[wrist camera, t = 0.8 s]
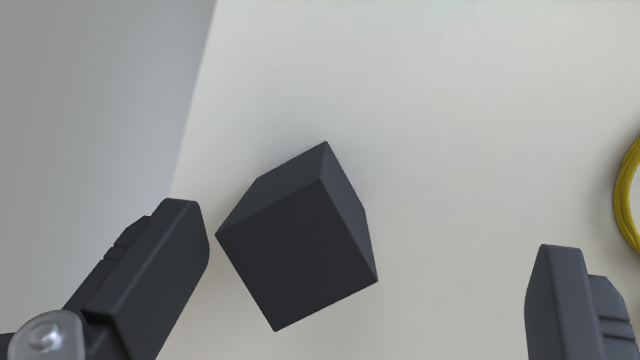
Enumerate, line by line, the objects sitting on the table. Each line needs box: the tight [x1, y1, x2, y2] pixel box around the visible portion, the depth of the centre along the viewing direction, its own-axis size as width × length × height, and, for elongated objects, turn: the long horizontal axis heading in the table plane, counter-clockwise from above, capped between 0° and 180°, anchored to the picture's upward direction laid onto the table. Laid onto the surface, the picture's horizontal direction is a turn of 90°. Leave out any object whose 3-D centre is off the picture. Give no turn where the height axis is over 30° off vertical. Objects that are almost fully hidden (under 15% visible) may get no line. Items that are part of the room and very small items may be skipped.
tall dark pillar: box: [215, 141, 378, 332], centre depth 24 cm, size 5×5×10 cm
